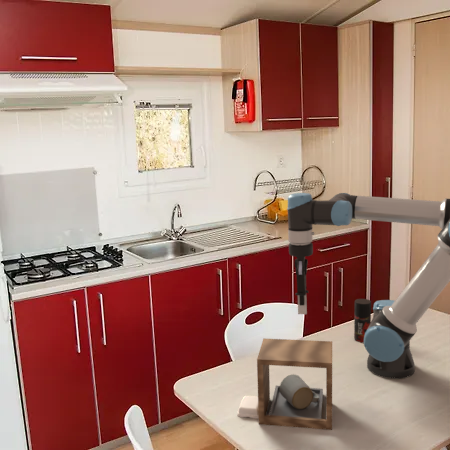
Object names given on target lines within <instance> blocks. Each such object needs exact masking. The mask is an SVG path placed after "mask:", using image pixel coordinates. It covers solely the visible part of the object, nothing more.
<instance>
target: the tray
mask: <svg viewBox="0 0 450 450" xmlns="http://www.w3.org/2000/svg"><path fill="white" fill-rule="evenodd" d="M310 389H311V390H312V391H313V392H315V393H316V394H317V395H318V396H319V399H318V402H316V403H314V402H311V404H310V405H309V406H308V407H306V408H304V409H297V408H295V407H293V406H292V405H291V404H290V403H289V402H288V401H287V400H286V399H285V398H284V397H283V396H282V395H281V393H280V385H275V388H274V392H273V396H272V401H271V404H270V409H269V413H268V415H275V416H289V417H303V418H317V419H323V418H322V416H323V414H322V413H323V398H324V397H323V396H324V389H323V388H320V387H319V388H318V387H317V388H316V387H310Z"/></svg>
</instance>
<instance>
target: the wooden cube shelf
mask: <svg viewBox="0 0 450 450" xmlns="http://www.w3.org/2000/svg"><path fill="white" fill-rule="evenodd" d="M256 363H257V364H256V367H257V369H256V370H257V373H256V374H257V396H258V413H259V418H258V425H262V426H275V427H289V428H299V429H300V428H301V429H315V430H325V431H327V430H328V431H332V430H333V341H329V340H309V339H308V340H305V339H304V340H303V339H283V338H282V339H281V338H263V339H262V342H261V346H260V348H259V351H258V355H257V358H256ZM270 366H277V367H278V366H279V367H282V366H283V367H299V368H301V367H302V368H314V369H315V368H318V369H326V382H325V383H326V385H325V386H326V390H325V392H326V393H325V395H326V398H325V400H326V401H325V402H326V412H325V413H326V414H325V415H326V416H325V417H326V418H321V419H317V418H303V417H289V416H275V415H269V414H268V411H269V409H268V408H269V405H270V400H271V391H270V390H271V389H270V388H271V387H270V386H271V385H270V383H271V382H270Z"/></svg>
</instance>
